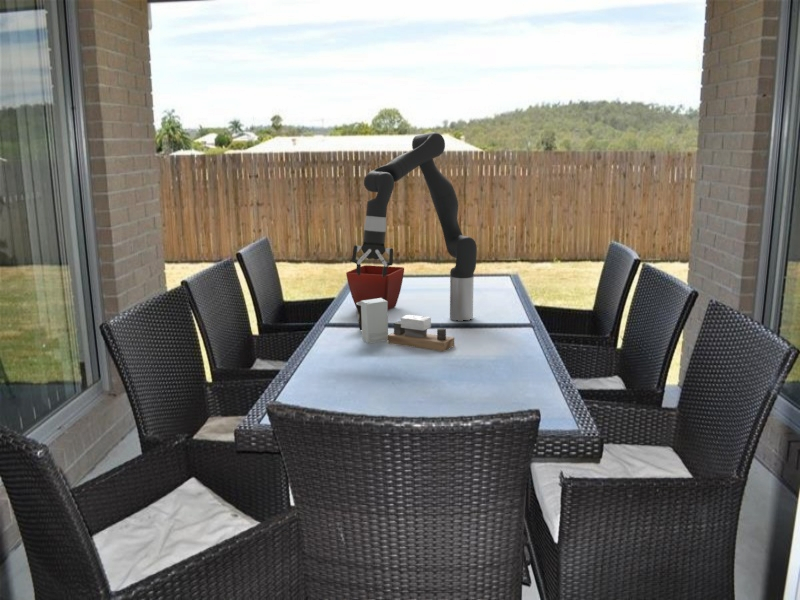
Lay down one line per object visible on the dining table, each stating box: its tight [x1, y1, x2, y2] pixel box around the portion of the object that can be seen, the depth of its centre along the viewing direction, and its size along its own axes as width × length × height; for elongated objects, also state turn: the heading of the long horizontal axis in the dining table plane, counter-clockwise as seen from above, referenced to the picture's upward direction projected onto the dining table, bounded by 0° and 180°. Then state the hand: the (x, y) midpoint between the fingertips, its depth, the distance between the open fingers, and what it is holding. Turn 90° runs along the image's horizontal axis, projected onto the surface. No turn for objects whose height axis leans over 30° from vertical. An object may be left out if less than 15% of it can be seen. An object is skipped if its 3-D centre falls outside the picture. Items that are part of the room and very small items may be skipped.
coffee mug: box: [355, 302, 362, 331], centre depth 284 cm, size 12×9×10 cm
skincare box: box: [361, 298, 389, 344], centre depth 266 cm, size 8×6×15 cm
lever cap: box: [400, 314, 432, 331], centre depth 261 cm, size 6×9×4 cm, turn 61°
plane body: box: [387, 320, 455, 352], centre depth 261 cm, size 8×22×7 cm, turn 61°
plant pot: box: [345, 264, 405, 311], centre depth 314 cm, size 19×19×17 cm
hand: (371, 276), depth 261 cm, fingers open, 8 cm apart
